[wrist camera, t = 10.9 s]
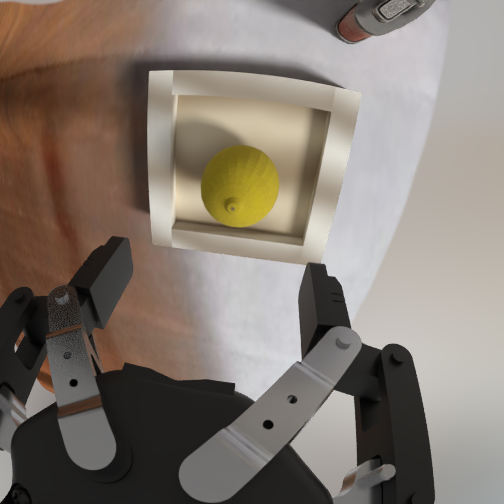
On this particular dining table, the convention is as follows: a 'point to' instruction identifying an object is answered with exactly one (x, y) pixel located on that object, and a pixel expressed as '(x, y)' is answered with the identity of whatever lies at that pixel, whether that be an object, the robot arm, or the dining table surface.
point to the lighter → (377, 18)
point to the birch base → (258, 136)
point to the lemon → (239, 186)
